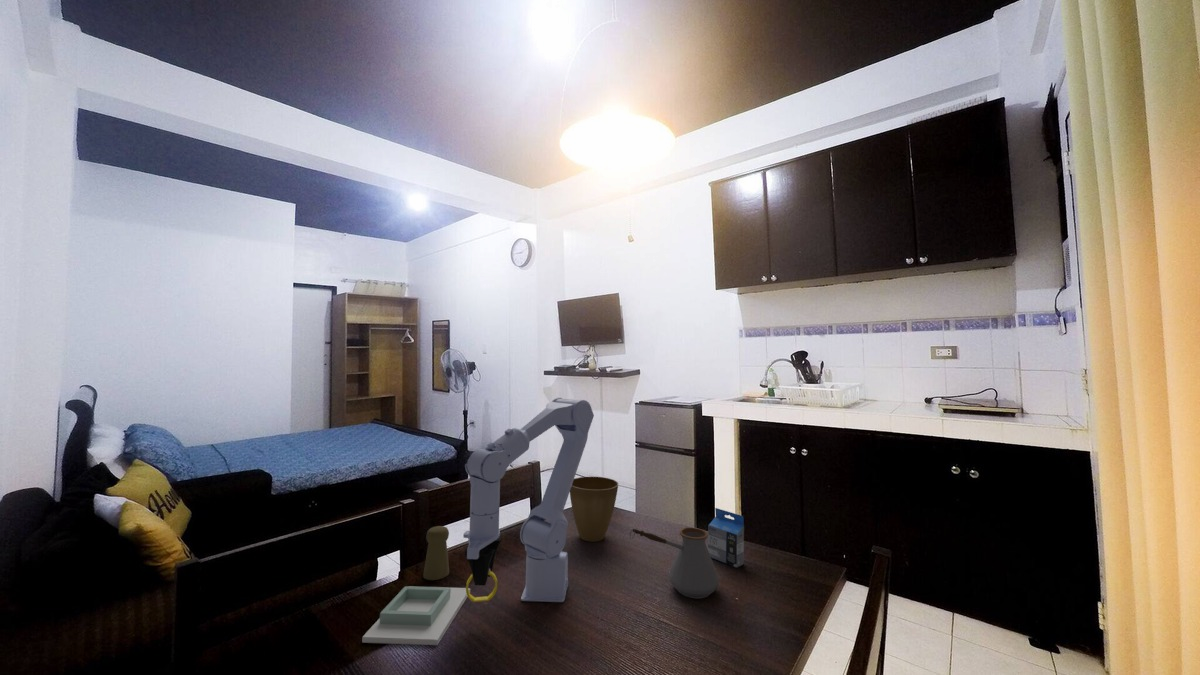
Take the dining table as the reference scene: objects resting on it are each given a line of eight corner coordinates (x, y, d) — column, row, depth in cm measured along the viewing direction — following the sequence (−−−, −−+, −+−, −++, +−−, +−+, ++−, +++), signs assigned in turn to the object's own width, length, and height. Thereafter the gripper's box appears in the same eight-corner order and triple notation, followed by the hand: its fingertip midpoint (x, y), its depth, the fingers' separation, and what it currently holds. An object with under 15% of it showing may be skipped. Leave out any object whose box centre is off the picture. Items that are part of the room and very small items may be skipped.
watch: (495, 596, 88) (499, 566, 88) (495, 604, 85) (499, 572, 86) (464, 597, 86) (469, 566, 87) (463, 604, 84) (468, 572, 84)
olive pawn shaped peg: (440, 581, 102) (442, 533, 102) (417, 578, 103) (419, 531, 104) (454, 569, 108) (455, 524, 108) (432, 566, 109) (433, 522, 109)
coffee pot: (703, 574, 107) (703, 512, 108) (729, 599, 96) (729, 530, 97) (621, 585, 101) (622, 520, 102) (638, 613, 90) (639, 539, 91)
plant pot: (600, 552, 119) (600, 492, 120) (557, 539, 127) (558, 483, 128) (626, 534, 131) (627, 480, 132) (586, 523, 139) (587, 473, 140)
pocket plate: (470, 592, 97) (470, 579, 97) (437, 645, 79) (437, 628, 79) (408, 590, 97) (409, 577, 98) (362, 642, 79) (363, 625, 80)
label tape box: (707, 556, 117) (707, 510, 117) (715, 552, 119) (715, 507, 120) (736, 568, 110) (736, 519, 111) (744, 563, 113) (744, 515, 114)
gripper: (476, 498, 94) (474, 562, 94) (451, 523, 80) (449, 599, 79) (508, 499, 94) (507, 563, 93) (489, 524, 80) (487, 600, 79)
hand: (482, 580), depth 86 cm, fingers closed on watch, 3 cm apart
